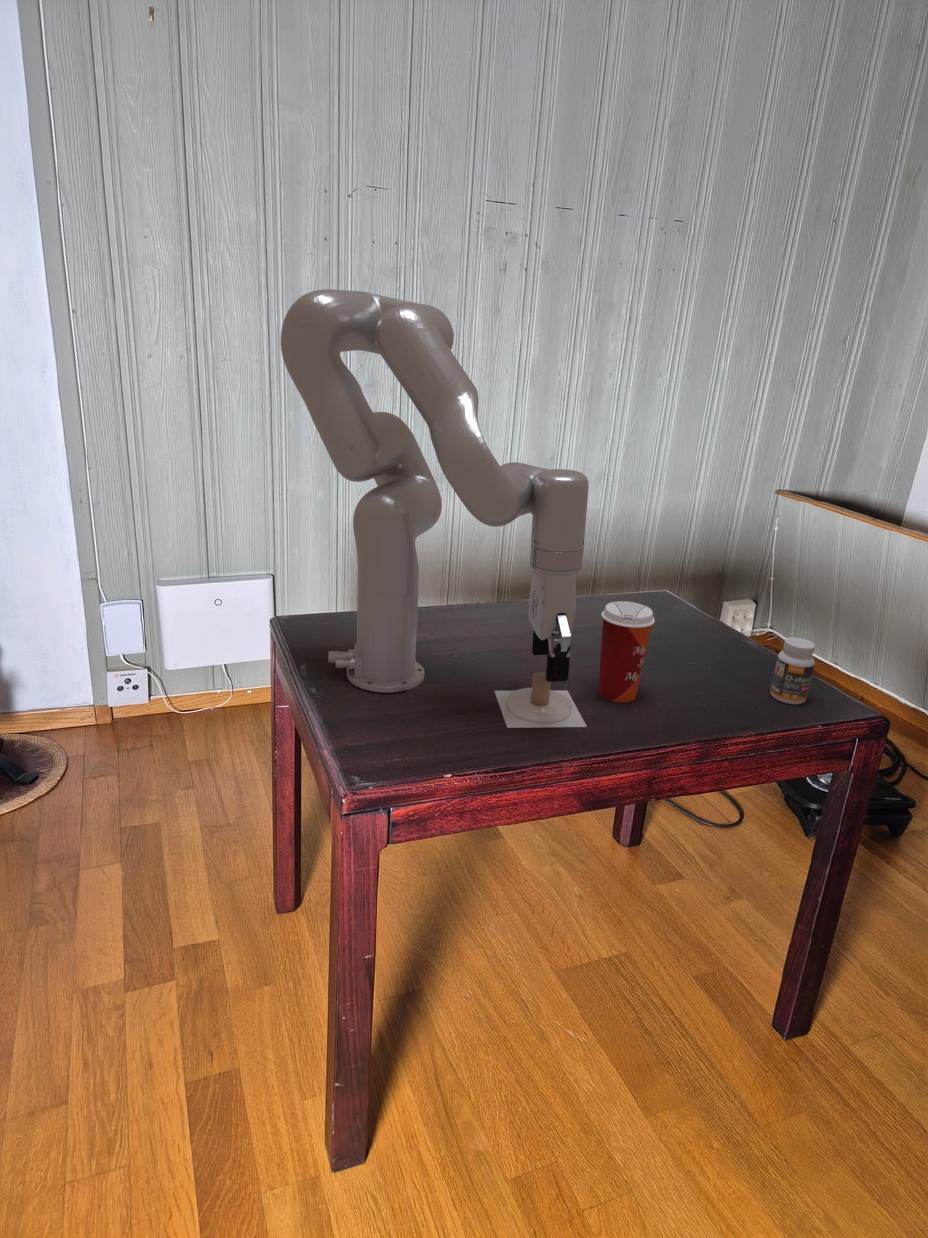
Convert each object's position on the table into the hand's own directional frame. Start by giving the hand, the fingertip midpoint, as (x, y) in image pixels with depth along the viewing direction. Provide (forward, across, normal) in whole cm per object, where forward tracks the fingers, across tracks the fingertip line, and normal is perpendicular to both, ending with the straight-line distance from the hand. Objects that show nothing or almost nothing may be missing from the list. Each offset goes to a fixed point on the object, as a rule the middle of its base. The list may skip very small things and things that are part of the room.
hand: (549, 667), depth 126 cm
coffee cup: (+8, -6, +13) cm, 16 cm away
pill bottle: (+9, -5, +42) cm, 43 cm away
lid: (+7, -1, -1) cm, 7 cm away
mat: (+7, -1, -1) cm, 8 cm away
